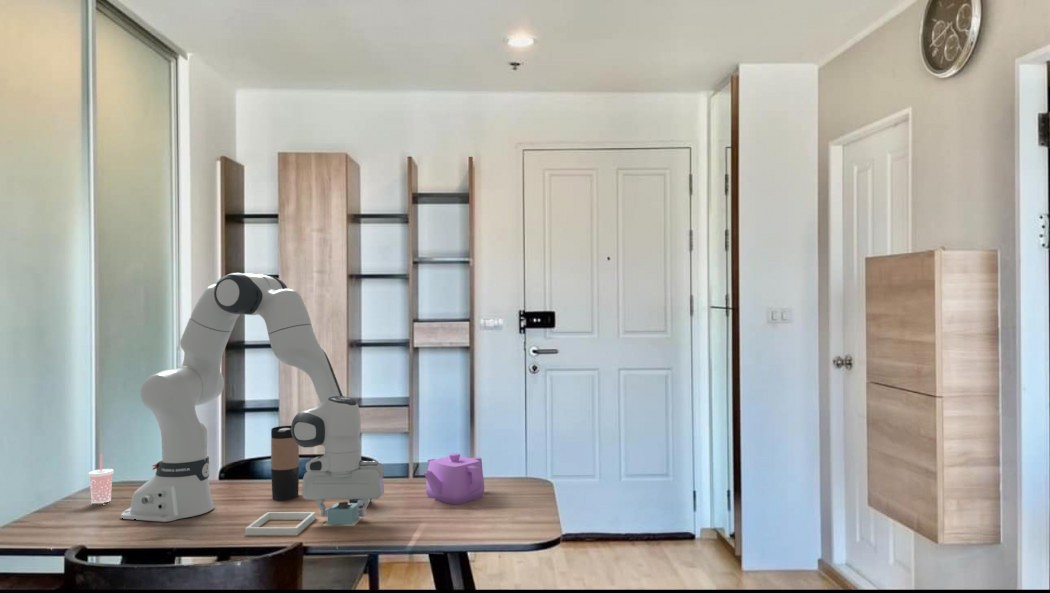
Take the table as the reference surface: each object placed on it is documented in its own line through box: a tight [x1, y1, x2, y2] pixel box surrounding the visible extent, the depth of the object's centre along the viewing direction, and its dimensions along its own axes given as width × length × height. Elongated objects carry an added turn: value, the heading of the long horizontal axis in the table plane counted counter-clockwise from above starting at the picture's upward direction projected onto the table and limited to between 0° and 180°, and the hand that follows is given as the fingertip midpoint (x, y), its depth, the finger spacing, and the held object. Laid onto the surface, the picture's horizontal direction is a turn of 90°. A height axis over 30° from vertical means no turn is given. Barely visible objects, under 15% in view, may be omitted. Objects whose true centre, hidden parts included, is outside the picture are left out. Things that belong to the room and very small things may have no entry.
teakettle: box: [423, 452, 485, 506], centre depth 195 cm, size 17×17×12 cm
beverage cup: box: [88, 453, 114, 504], centre depth 193 cm, size 6×6×14 cm
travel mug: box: [270, 425, 300, 501], centre depth 197 cm, size 8×8×20 cm
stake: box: [322, 500, 363, 527], centre depth 171 cm, size 8×8×6 cm
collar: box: [327, 502, 360, 524], centre depth 171 cm, size 6×7×4 cm
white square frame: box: [244, 511, 317, 536], centre depth 167 cm, size 13×13×3 cm
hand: (343, 516), depth 171 cm, fingers open, 8 cm apart
